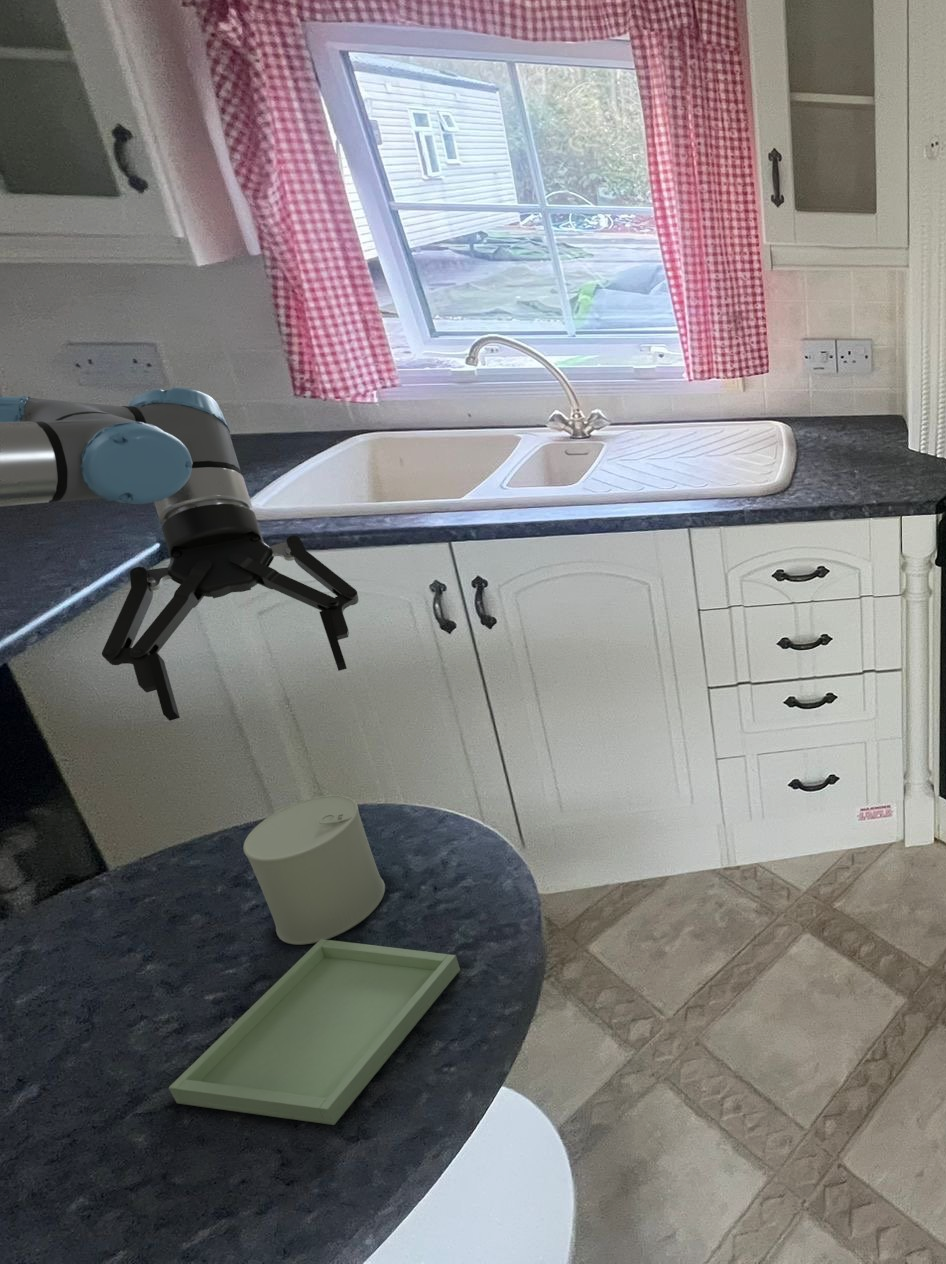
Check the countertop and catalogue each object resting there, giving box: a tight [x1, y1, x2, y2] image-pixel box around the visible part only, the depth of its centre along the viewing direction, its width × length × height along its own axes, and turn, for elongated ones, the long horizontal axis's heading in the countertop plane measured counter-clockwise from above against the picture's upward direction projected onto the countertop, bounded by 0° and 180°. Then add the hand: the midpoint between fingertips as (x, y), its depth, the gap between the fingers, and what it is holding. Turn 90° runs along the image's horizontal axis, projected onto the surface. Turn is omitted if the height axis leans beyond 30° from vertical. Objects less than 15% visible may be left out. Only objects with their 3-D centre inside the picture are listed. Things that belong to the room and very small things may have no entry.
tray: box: [168, 939, 461, 1126], centre depth 76 cm, size 15×15×2 cm
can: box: [242, 794, 386, 946], centre depth 86 cm, size 9×9×12 cm
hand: (261, 690), depth 87 cm, fingers open, 13 cm apart
